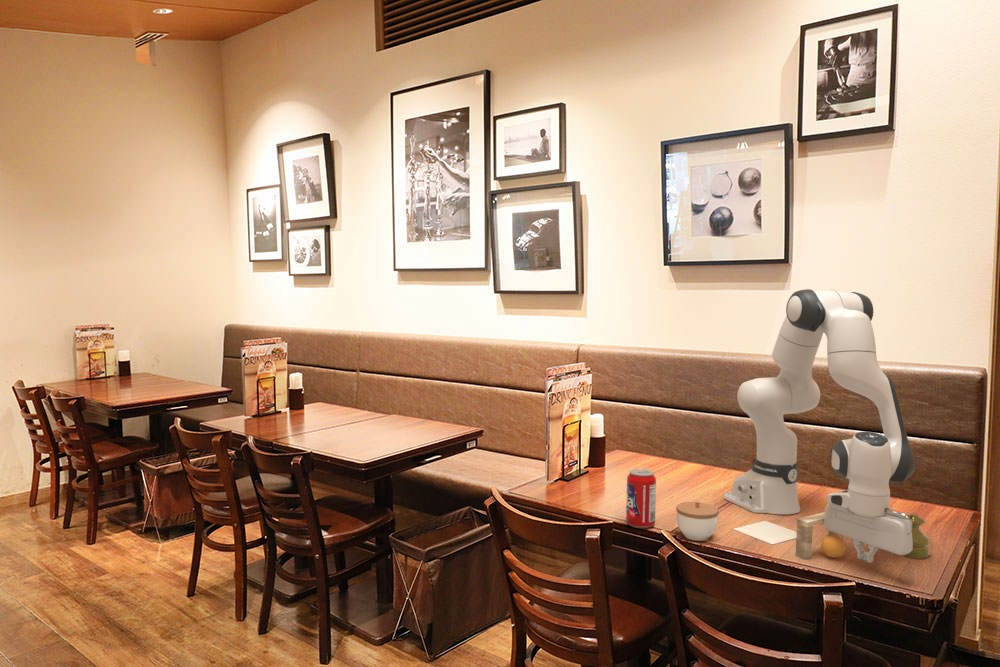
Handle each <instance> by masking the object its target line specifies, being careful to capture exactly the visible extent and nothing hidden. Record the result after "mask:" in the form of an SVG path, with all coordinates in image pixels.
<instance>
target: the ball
mask: <svg viewBox="0 0 1000 667" xmlns="http://www.w3.org/2000/svg"><path fill="white" fill-rule="evenodd" d="M820 546H821V547H820V548H821V550H822V552H823V554H825V555H826V556H827V557H829V558H833V559H837V558H840V557H842V556H843V555H844V554H845V551H846V549H847V547H846V542H845V540H844V541H843V539H842V538H840V537H839V536H837V535H832V534H831V535H828V534H827V535H826V536H824V537H823V538H822V540H821V543H820Z"/></svg>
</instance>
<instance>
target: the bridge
mask: <svg viewBox="0 0 1000 667" xmlns="http://www.w3.org/2000/svg"><path fill="white" fill-rule="evenodd" d="M824 516H825V511H824V512H820V513H815V514H811V515H807V516H803V517H800V518H797V519H796V532H797V533H796V539H795V556H796V557H798V558H801V559H802V560H807V561H808V560H810V559H812V556H813V555H812V554H813V532H814V529H813V527H815V526H818V525H823V524H824ZM827 531H828V530H827ZM831 534H832V535H837V536H839V537H840V538H842V539H843V541H844V542H845V536H843V535H840V534H837V533H834V532H831V531H828V534H827V535H831Z"/></svg>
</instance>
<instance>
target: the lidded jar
mask: <svg viewBox="0 0 1000 667" xmlns="http://www.w3.org/2000/svg"><path fill="white" fill-rule="evenodd" d="M675 509H676V510H675V511H676V522H677V526H678V528H679V530H680V532H681V533H682V535H684V537H685V538H686V539H688V540H692V541H694V542H695V541H697V542H702V541H707V540H709V538H710V537H711V536H712V535H713V534H714V533H715V532H716V529H717V526H718V522H719V508H718V507H716V506H715V505H713V504H709V503H706V502H700V501H697V500H696V501H685V502H681V503H678V504H677V505H676V508H675Z"/></svg>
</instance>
